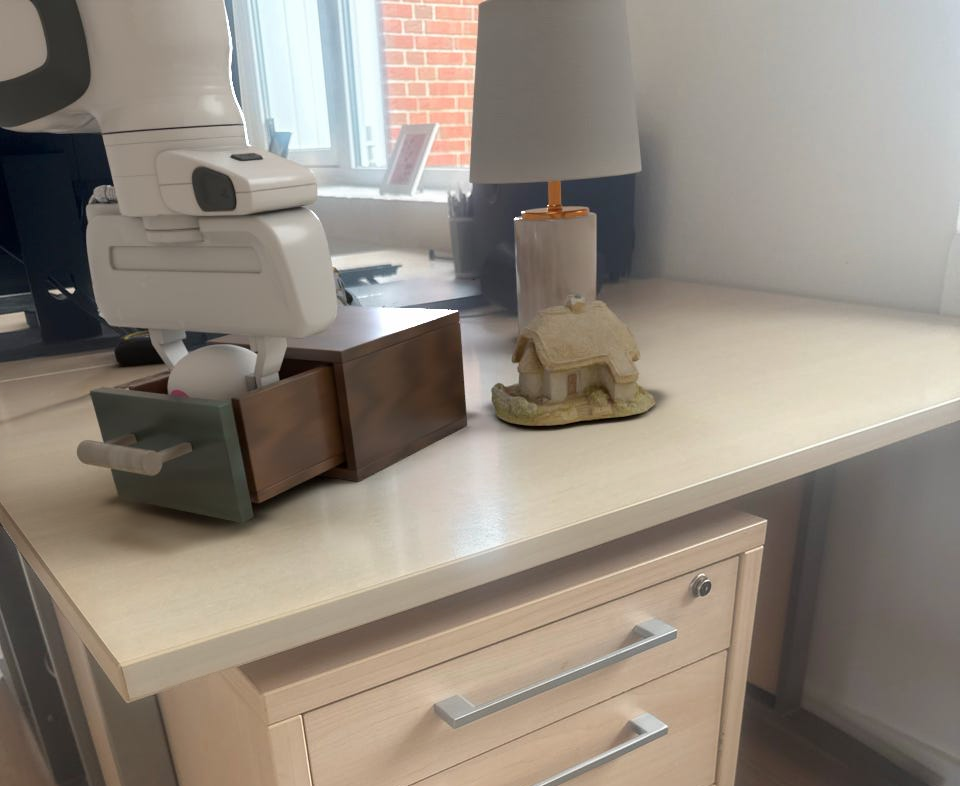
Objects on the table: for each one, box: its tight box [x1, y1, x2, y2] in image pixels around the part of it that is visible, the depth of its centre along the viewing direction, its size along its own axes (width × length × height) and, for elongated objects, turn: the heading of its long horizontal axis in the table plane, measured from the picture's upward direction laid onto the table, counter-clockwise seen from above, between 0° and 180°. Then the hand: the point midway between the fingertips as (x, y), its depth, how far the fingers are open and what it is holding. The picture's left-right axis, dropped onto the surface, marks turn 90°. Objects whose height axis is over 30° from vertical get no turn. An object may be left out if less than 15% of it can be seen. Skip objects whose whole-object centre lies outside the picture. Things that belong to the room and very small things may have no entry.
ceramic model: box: [490, 294, 656, 427], centre depth 80 cm, size 14×11×10 cm
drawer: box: [76, 359, 347, 524], centre depth 66 cm, size 19×13×8 cm, turn 149°
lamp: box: [468, 0, 643, 335], centre depth 101 cm, size 19×19×34 cm
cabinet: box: [205, 306, 468, 482], centre depth 76 cm, size 16×14×10 cm
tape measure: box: [113, 330, 165, 367], centre depth 111 cm, size 7×7×4 cm
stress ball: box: [167, 344, 257, 434], centre depth 66 cm, size 8×8×7 cm
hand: (227, 394), depth 66 cm, fingers closed on stress ball, 6 cm apart
